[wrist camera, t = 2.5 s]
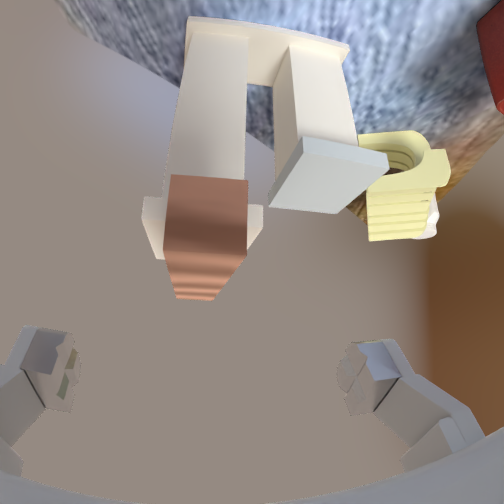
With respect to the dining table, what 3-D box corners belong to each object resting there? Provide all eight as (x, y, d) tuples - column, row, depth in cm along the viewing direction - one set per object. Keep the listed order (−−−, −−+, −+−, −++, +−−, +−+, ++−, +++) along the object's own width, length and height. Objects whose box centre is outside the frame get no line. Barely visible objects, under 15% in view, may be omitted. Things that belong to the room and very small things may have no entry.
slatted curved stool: (416, 174, 77) (427, 236, 73) (361, 179, 83) (369, 241, 78) (430, 106, 50) (454, 186, 45) (354, 111, 55) (368, 192, 51)
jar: (395, 194, 90) (402, 240, 86) (398, 180, 81) (406, 230, 78) (429, 192, 87) (437, 238, 83) (435, 178, 78) (445, 228, 74)
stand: (189, 5, 33) (141, 219, 25) (353, 35, 37) (400, 240, 29) (184, 71, 46) (156, 258, 38) (321, 90, 51) (339, 269, 42)
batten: (171, 174, 18) (162, 250, 16) (248, 180, 18) (246, 255, 17) (178, 263, 40) (176, 298, 39) (213, 265, 41) (212, 300, 40)
